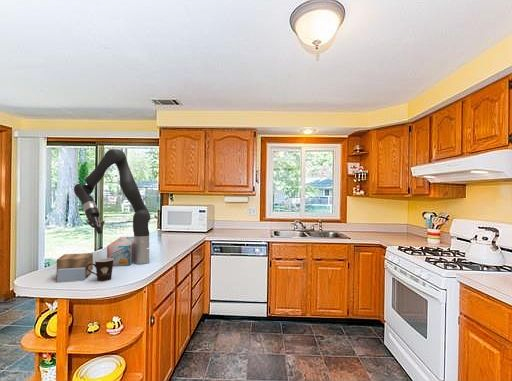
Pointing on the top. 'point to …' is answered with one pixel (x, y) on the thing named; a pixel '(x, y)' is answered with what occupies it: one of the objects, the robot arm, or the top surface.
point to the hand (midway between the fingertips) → (100, 233)
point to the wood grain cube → (76, 261)
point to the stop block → (70, 274)
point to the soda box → (121, 251)
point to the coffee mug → (103, 268)
